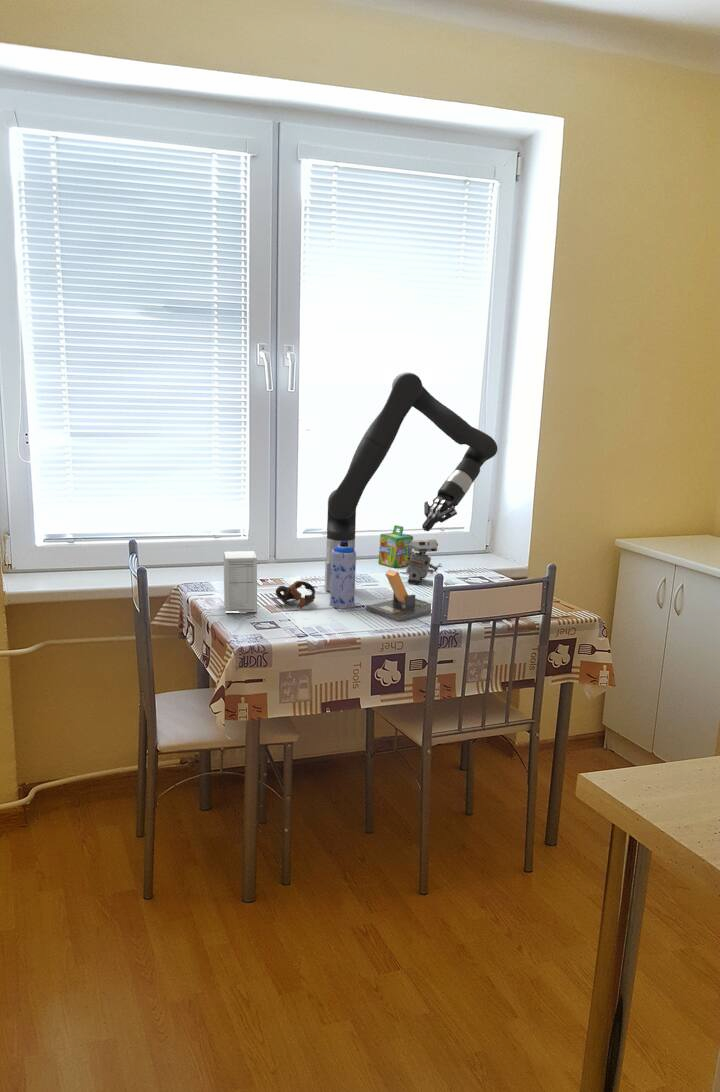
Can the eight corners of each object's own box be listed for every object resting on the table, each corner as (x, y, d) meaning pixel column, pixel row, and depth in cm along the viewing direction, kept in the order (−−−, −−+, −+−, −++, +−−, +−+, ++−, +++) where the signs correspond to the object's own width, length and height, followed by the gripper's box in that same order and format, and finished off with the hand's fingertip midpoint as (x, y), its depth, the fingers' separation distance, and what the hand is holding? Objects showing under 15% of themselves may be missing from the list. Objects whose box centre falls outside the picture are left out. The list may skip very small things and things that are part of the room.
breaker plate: (408, 601, 255) (409, 584, 254) (440, 611, 245) (442, 594, 244) (366, 610, 243) (366, 592, 242) (398, 621, 233) (399, 603, 232)
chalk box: (377, 563, 304) (379, 525, 301) (395, 560, 310) (396, 523, 307) (395, 568, 298) (397, 529, 295) (412, 565, 304) (414, 526, 301)
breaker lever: (403, 599, 246) (389, 569, 239) (411, 602, 243) (398, 571, 236) (398, 603, 245) (384, 573, 238) (407, 606, 242) (393, 576, 236)
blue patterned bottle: (357, 602, 251) (360, 539, 247) (351, 609, 244) (353, 544, 239) (333, 600, 253) (335, 537, 249) (326, 606, 245) (328, 542, 241)
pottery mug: (306, 600, 254) (315, 581, 249) (309, 620, 246) (319, 601, 242) (270, 592, 249) (279, 573, 245) (272, 613, 242) (282, 593, 238)
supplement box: (255, 604, 245) (255, 550, 241) (257, 613, 236) (258, 557, 232) (223, 605, 243) (223, 550, 239) (224, 614, 234) (224, 557, 230)
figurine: (436, 586, 274) (438, 543, 271) (403, 583, 277) (405, 540, 274) (440, 580, 282) (443, 538, 279) (408, 577, 285) (410, 535, 282)
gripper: (434, 477, 255) (404, 517, 249) (466, 482, 245) (435, 525, 240) (444, 492, 259) (415, 533, 254) (476, 498, 250) (446, 541, 244)
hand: (425, 529), depth 247 cm, fingers closed
